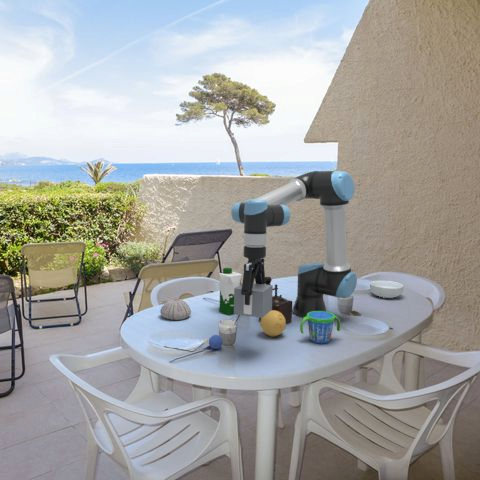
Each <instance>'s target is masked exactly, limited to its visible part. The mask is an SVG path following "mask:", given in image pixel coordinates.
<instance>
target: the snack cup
mask: <svg viewBox="0 0 480 480" xmlns="http://www.w3.org/2000/svg"><path fill="white" fill-rule="evenodd" d="M335 319H337V321H336V331H337V332H340V331H341V328H342V327H341V326H342V325H341V320H340V318H339V317H338V316H336V315H335V314H334V313H332V312H330V311H326V312H325V311H312V312H309V313H307V316H306V317H302V320H301V321H300V326H299V328H300V333H301V334H304V323H305V322H306V321H307V325H308V333H309V339H310V341H311V342H313V343H314V344H327V343H330V340H331V338H332V333H333V327H334V322H335Z"/></svg>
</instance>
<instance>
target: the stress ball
mask: <svg viewBox="0 0 480 480" xmlns="http://www.w3.org/2000/svg"><path fill="white" fill-rule="evenodd" d="M285 320H286V319H285V317H284V316H283V315H282V314H281V312H279V311H275V310H271V311H270V312H269V313H268V314H267V315H265V316H264V317H263V318H261V322H259V323H260V328H261V330H262V332H264V334H265V335H267V336H269V337H272V338H274V337H277V336H279V335H281V334H282V333H283V332H284V331H285V329H286V327H287V324H286V321H285Z"/></svg>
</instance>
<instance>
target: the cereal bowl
mask: <svg viewBox="0 0 480 480" xmlns="http://www.w3.org/2000/svg"><path fill="white" fill-rule="evenodd" d="M369 290H370V291H371V293H372V294H374V295H375V296H379V297H378V298H380V297H384V298H383V299H385V298H392V299H394V298H396V297H399V296H401V294H402V293H403V292H404V285H403V284H402V283H400V282H396V281H393V280H392V281H391V280H373V281H370V283H369ZM393 297H394V298H393Z"/></svg>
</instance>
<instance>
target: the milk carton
mask: <svg viewBox="0 0 480 480" xmlns="http://www.w3.org/2000/svg"><path fill="white" fill-rule="evenodd" d="M242 276H243V274H241V273H239V272H237V271H233V268H232V267H223V269H222V272H219V273H218V279H219V307H218V309H219V311H218V313H222V314H224V315H227V316H232V315H235V314H234V288H236V287H238V286H240V285H241V280H242V278H243V277H242Z"/></svg>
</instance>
